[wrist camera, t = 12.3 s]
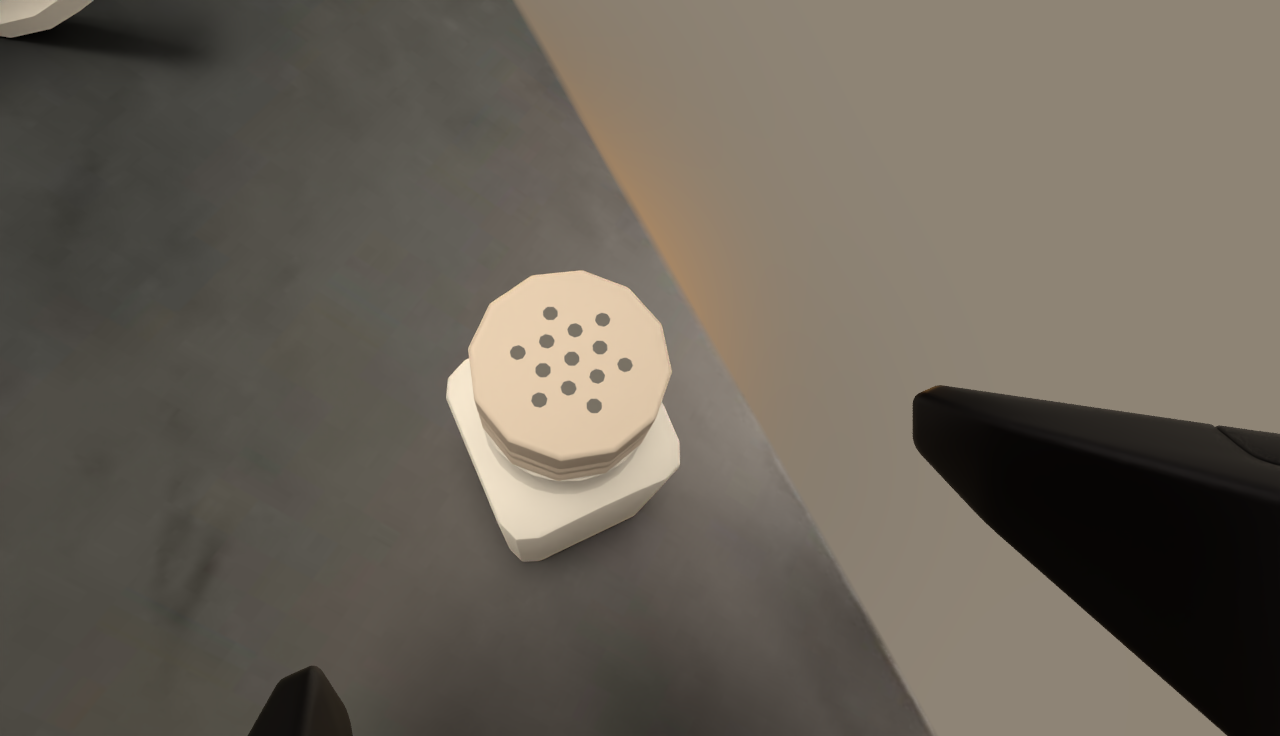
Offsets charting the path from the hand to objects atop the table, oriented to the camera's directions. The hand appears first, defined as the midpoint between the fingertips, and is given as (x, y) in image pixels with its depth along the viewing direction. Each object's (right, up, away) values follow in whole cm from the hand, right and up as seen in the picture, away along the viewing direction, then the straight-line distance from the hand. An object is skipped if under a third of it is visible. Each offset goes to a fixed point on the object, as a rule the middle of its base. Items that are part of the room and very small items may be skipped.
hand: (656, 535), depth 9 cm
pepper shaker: (-3, -1, +10) cm, 11 cm away
